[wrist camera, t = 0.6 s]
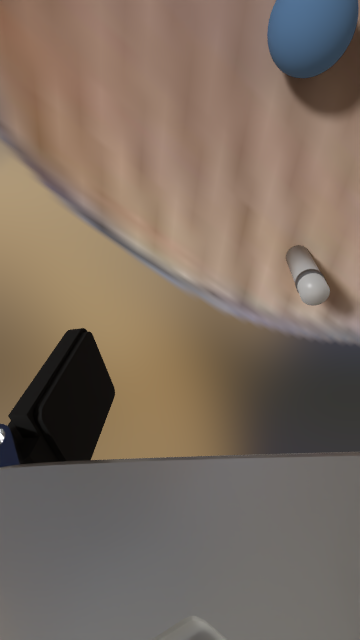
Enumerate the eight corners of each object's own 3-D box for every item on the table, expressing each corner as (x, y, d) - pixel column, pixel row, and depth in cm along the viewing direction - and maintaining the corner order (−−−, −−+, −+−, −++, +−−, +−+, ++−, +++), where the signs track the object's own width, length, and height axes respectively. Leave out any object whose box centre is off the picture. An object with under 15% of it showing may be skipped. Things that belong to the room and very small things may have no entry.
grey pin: (300, 240, 35) (319, 274, 28) (314, 256, 36) (336, 294, 29) (280, 255, 37) (293, 292, 29) (294, 271, 37) (310, 310, 30)
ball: (314, -43, 25) (336, -80, 20) (359, 32, 26) (390, 15, 21) (248, 35, 27) (253, 19, 22) (293, 98, 29) (307, 96, 24)
